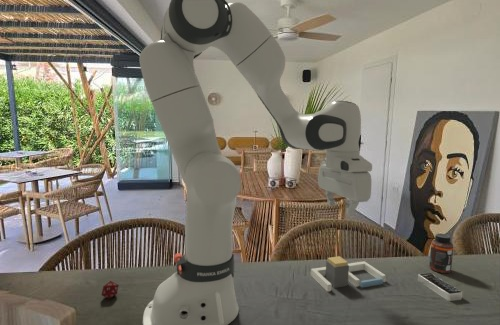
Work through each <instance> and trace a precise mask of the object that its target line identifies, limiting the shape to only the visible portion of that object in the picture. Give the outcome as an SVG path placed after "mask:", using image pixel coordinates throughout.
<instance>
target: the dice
mask: <svg viewBox="0 0 500 325" xmlns="http://www.w3.org/2000/svg"><path fill="white" fill-rule="evenodd" d="M118 290H119V284H117V283H115V282H113V281H112V280H109V281H108V282H107V283H106V284H104V285H103V287H102V292H101V296H102V297H104V298H106V299H109V300H110V299H112V298H113V297H114V296H116V295H117V294H118Z"/></svg>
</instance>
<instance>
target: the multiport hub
mask: <svg viewBox="0 0 500 325" xmlns="http://www.w3.org/2000/svg"><path fill="white" fill-rule="evenodd" d="M417 276H418V277H417V281H418V282H419V283H421V284H422V285H423V286H425V287H427V288H428V289H430V290H431V291H433V292H435V294H437V295H439V296H441V297H442V299H445V300H446V301H447V302H453V301H461V300H462V299H463V291H462V290H459V289H458V288H457V287H455V286H453V285H451V284H450V283H448V282H446V281H444V280H443V279H442V278H440V277H438V276H436V275H435V274H433V273H430V272H426V273H418V275H417Z"/></svg>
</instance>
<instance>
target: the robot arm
mask: <svg viewBox="0 0 500 325" xmlns="http://www.w3.org/2000/svg"><path fill="white" fill-rule="evenodd" d="M169 2H170V3H169V6H168V8H167V9H166V11H165V13H164V16H163V21H162V27H161V30H160V31H161V32H160V40H156V41H153V42H151V43H149V44H148V45H146V46H145V47H144V48H143V49H142V50H141V52H140V54H139V67H140V72H141V75H142V79H143V82H144V86H145V88H146V92H147V95H148V97H149V99H150V100H149V101H150V102H151V105H152V107H153V109H154V112H155V115H156V117H157V119H158V121H159V125H161V126H160V127H161V129H162V131H163V133H164V136H165V138H166V141H167V144H168V147H169V148H170V151H171V153H172V156H173V158H174V160H175V163H176V166H177V168H178V171H179V174H180V176H181V178H182V181H183V183H184V184H185V186H186V208H185V209H186V210H185V211H186V214H185V223H184V238H185V239H184V242H185V243H184V244H185V248H184V249H185V250H184V251H185V254H184V255H182V253H181V252H177V253H175V254H174V256H173V261H174V263H176V272H174V273H173V274H172V275H170V276H169V277H168V278H167V279H165V280H164V281H163V282H161V283H160V284H159V285H158V286H157V289H156V290H155V293H154V296H153V299H152V300H151V301H150V302H149V303H148V304H147V305H146V307H145V309H144V311H143V314H142V325H229V324H230V323H231V322H233V321H234V320H235V319H236V318H237V316H238V314H239V310H240V308H239V304H238V301H237V300H238V299H237V296H236V293H235V292H236V291H235V286H234V285H235V283H234V276H235V254H234V253H233V221H234V215H235V212H236V211H235V210H236V206H237V198H238V196H239V193H240V191H241V187H242V179H241V176H240V175H241V174H240V172H239V170H238V168H237V167H236V164H235V163H234V162H233V161H232V160H231V159H230V158H228V157H226V156H224V155H223V153H222V151H221V150H220V149H221V148H220V145H219V142H218V138H217V133H216V131H215V130H216V129H215V125H214V119H213V116H212V113H211V110H210V109H209V105H208V103H207V99H206V97H205V94H204V92H203V89H202V87H201V84H200V82H199V79H198V76H197V75H196V72H195V67H194V59H197V57H199V56H200V55H201V54H203V52H204V51H207V49H209V48H211V47H213V48H216V49H219V50H220V51H222V53H224V54H225V55H226V56H227V57H228V59H229V60H230V62H231V63H232V64H233V65H234V66H235V67H236V69H237V70H238V71H239V73H240V74H241V76H243V78H244V79H245V80H246V81H247V82H248V84H249V85H250V86H251V88H252V89H253V90H254V91H253V92H255V94H256V95H257V97H258V98H259V100H260V101H261V103H262V104H263V105H264V107H265V109H266V110H267V111H268V112H269V114H270V116H271V117H272V119H273V120H274V121H275V124H276V125H277V128H278V130H279V134H280V136H281V139H282V141H283V143H284V144H285V145H286V146H287V147H288V148H291V149H294V150H309V151H316V152H317V151H318V152H319V151H325V150H326V151H325V157H324V158H323V160H322V161H321V165H320V166H319V169H318V175H317V186H318V187H319V188H320V189H322V190H325V192H324V194H325V197H326V203H327V206H329V207H335V206H336V199H335V198H334V194H335V195H338V196H340V197H343V198H346V199H347V200H348V203H349V205H348V207H346V209H345V210H346V212H345V213H346V215H348V216H351V217H353V216H355V215H356V209H357V208H358V206H359V204H360V203H366V202H368V201H369V200H370V199H371V196H372V175H371V173H370V172H371V171H373V164H372V163H371V162H370V161H369V160H368V159H366V158H364V157H363V156H362V155H360V154H361V153H360V152H361V149H360V145H359V144H360V143H359V142H360V138H361V136H362V135H361V132H362V118H361V117H362V116H361V110H360V107H359V105H358V104H356V103H354V102H352V101H347V100H344V101H343V100H334V101H332V102H330V104H329V105H327V106H326V107H324V108H323V109H321V110H319V111H316V112H314V113H307V114H304V113H302V112H299V111H297V110H296V109H295V107H294V106H293V105H292V103H291V101H290V100H289V99H288V97H287V96H286V94H285V93H284V91H283V89H282V86H281V78H282V76H283V74H284V71H285V67H286V56H285V54H284V51H283V49H282V47H281V45H280V44H279V42H278V41H277V39H276V38H275V36H274V35H273V34H272V32H271V31H270V30H269V29H268V27H267V26H266V25H265V23H264V22H263V21H262V20H261V19H260V18H259V17H258V16H257V15H256V14H255V13H254V11H252V10H251V9H250V8H249V7H248V6H246V5H245V4H244V3H242V2H237V1H234V2H230V3H228V2H227V1H226V0H170V1H169Z"/></svg>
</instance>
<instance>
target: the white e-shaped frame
mask: <svg viewBox="0 0 500 325" xmlns="http://www.w3.org/2000/svg"><path fill="white" fill-rule="evenodd" d="M348 265H349V273H348V283H350V284H351V285H353V287H355V288H357V287H361V288H367V287H373V286H379V285H383V284H384V283H386V278H387V276H386V274H384V273H383V272H381V271H380V270H378V269H377V268H376V267H374V266H373V265H371V264H369V263H368V262H366V261H357V262H351V263H349V262H348ZM358 271H364V272H366V273H368V274H369V275H371V276H372V277H374V278H371V279H366V280H360V279H359V278H358V277H357V276H356V275H355V274H353V273H352V272H358ZM310 276H311V277H312V278H313V279H314V280H315V281H316V282H317V283H318V284H319V285H320V286H321V287H322V288H323V289H324V291H326V292H328V293H329V292H332V284H331V283H330V282H329V281H328V280H326V266H322V267H315V268H310Z"/></svg>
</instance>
